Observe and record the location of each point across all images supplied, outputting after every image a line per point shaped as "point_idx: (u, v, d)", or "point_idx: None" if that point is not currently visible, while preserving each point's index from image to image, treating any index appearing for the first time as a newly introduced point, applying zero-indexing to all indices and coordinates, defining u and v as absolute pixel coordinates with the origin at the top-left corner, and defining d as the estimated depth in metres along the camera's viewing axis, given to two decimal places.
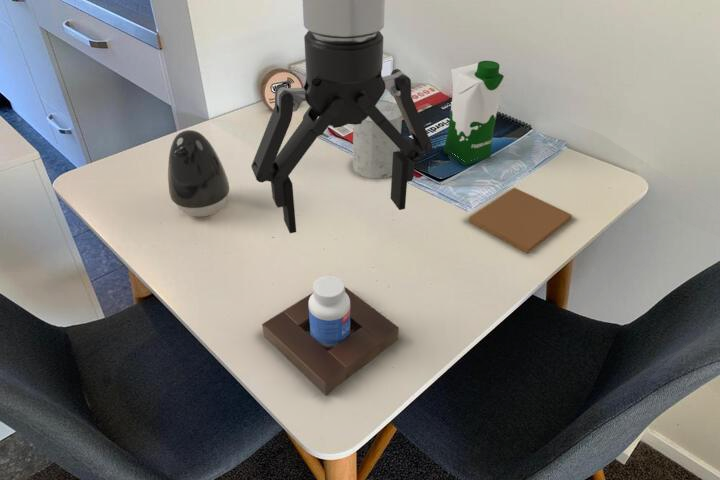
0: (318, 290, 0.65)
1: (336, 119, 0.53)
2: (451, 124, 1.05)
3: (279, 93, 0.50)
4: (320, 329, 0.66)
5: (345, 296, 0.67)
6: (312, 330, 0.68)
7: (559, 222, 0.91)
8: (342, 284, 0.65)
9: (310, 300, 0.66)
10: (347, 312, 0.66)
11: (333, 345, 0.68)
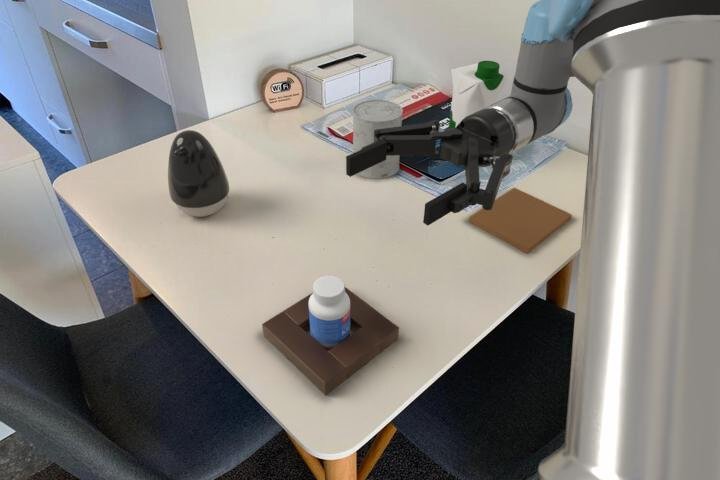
0: (318, 290, 0.65)
1: (448, 142, 0.70)
2: (451, 124, 1.05)
3: None
4: (320, 329, 0.66)
5: (345, 296, 0.67)
6: (312, 330, 0.68)
7: (559, 222, 0.91)
8: (342, 284, 0.65)
9: (310, 300, 0.66)
10: (347, 312, 0.66)
11: (333, 345, 0.68)
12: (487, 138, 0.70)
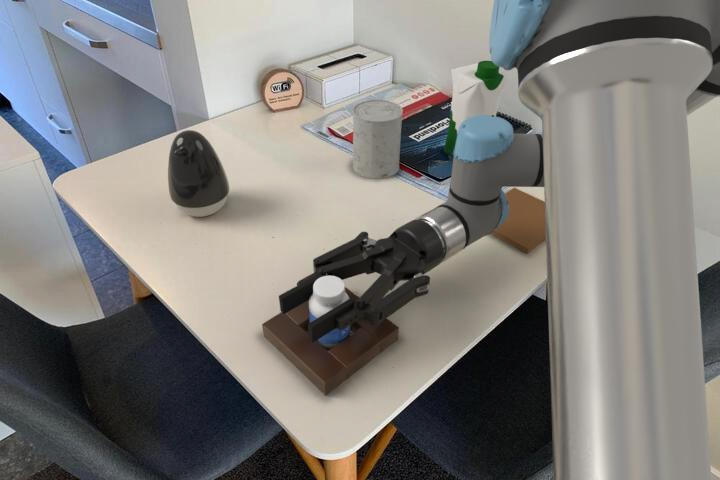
0: (319, 290, 0.65)
1: (378, 255, 0.72)
2: (451, 124, 1.05)
3: None
4: None
5: (345, 296, 0.67)
6: None
7: None
8: (342, 284, 0.65)
9: (310, 300, 0.66)
10: None
11: (333, 345, 0.68)
12: (417, 251, 0.72)
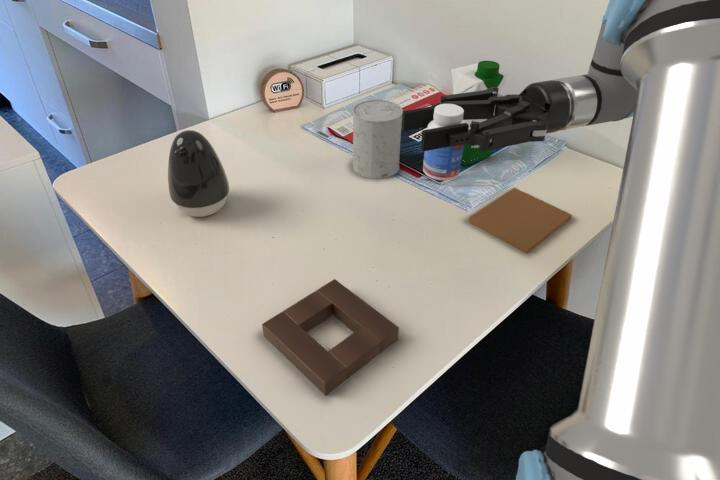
0: (439, 110, 0.70)
1: (503, 103, 0.75)
2: None
3: None
4: (433, 150, 0.72)
5: None
6: (425, 154, 0.74)
7: (559, 222, 0.91)
8: (461, 110, 0.70)
9: (429, 123, 0.73)
10: None
11: (441, 171, 0.74)
12: (542, 105, 0.74)
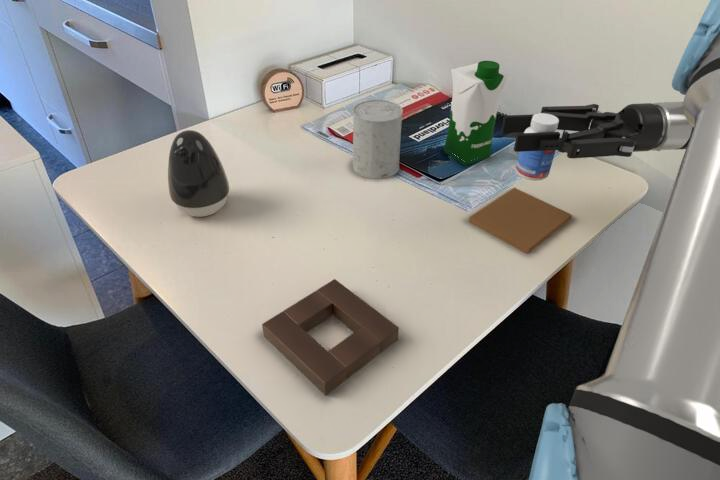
0: (536, 118, 0.81)
1: (599, 119, 0.83)
2: (451, 124, 1.05)
3: None
4: (525, 152, 0.83)
5: None
6: (519, 155, 0.85)
7: (559, 222, 0.91)
8: (557, 120, 0.80)
9: None
10: None
11: (530, 171, 0.84)
12: (635, 125, 0.81)
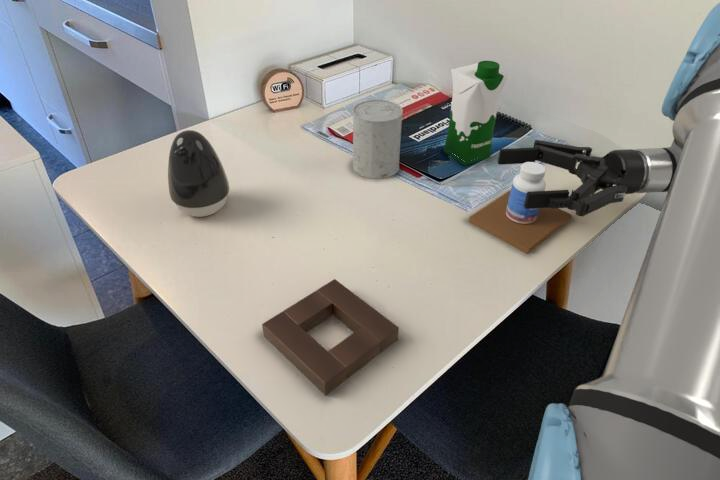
0: (524, 167, 0.86)
1: (585, 164, 0.88)
2: (451, 124, 1.05)
3: None
4: (515, 198, 0.88)
5: (543, 182, 0.87)
6: (509, 200, 0.90)
7: (559, 222, 0.91)
8: (543, 170, 0.85)
9: (516, 176, 0.88)
10: None
11: (519, 216, 0.89)
12: (619, 171, 0.86)
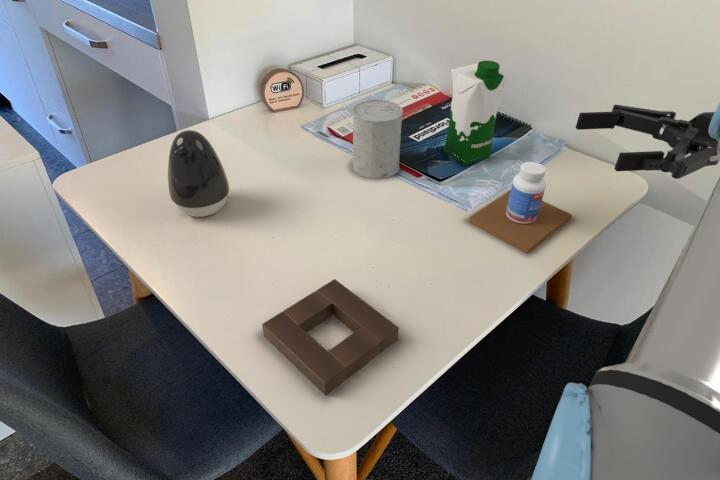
0: (524, 167, 0.86)
1: (672, 127, 0.83)
2: (451, 124, 1.05)
3: None
4: (515, 198, 0.88)
5: (543, 181, 0.87)
6: (509, 200, 0.90)
7: (559, 222, 0.91)
8: (543, 170, 0.85)
9: (516, 176, 0.88)
10: (539, 192, 0.86)
11: (519, 216, 0.89)
12: None
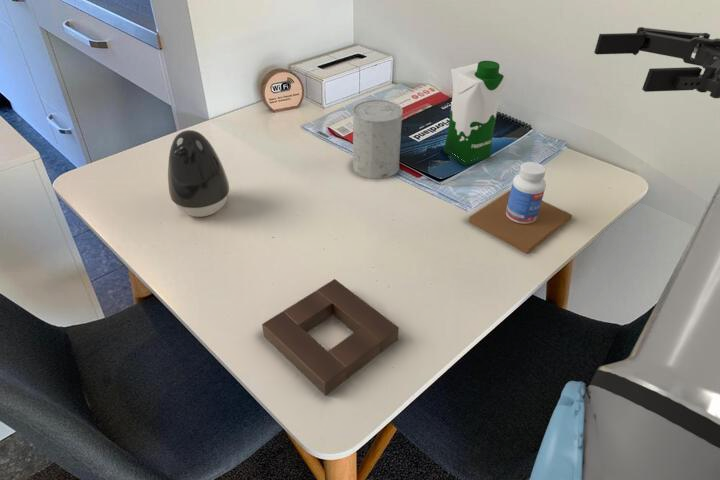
0: (524, 167, 0.86)
1: (707, 47, 0.72)
2: (451, 124, 1.05)
3: None
4: (515, 198, 0.88)
5: (543, 181, 0.87)
6: (509, 200, 0.90)
7: (559, 222, 0.91)
8: (543, 170, 0.85)
9: (516, 176, 0.88)
10: (539, 192, 0.86)
11: (519, 216, 0.89)
12: None
